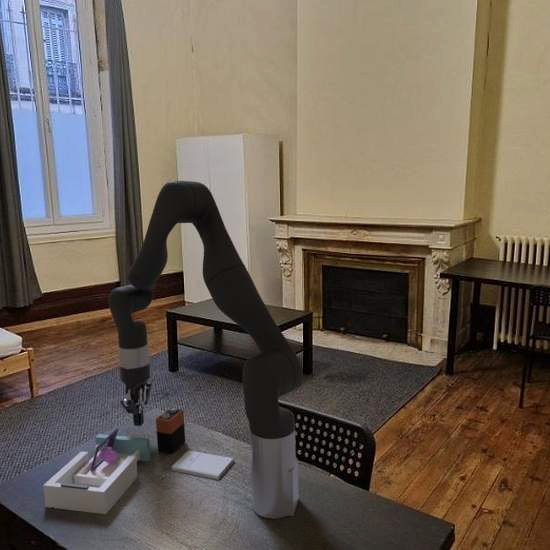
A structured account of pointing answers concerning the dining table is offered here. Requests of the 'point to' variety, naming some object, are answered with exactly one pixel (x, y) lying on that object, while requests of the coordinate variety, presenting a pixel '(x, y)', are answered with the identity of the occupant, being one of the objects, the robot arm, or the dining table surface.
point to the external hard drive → (203, 464)
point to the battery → (170, 430)
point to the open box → (88, 487)
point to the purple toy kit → (106, 450)
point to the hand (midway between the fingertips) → (138, 424)
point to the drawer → (105, 469)
